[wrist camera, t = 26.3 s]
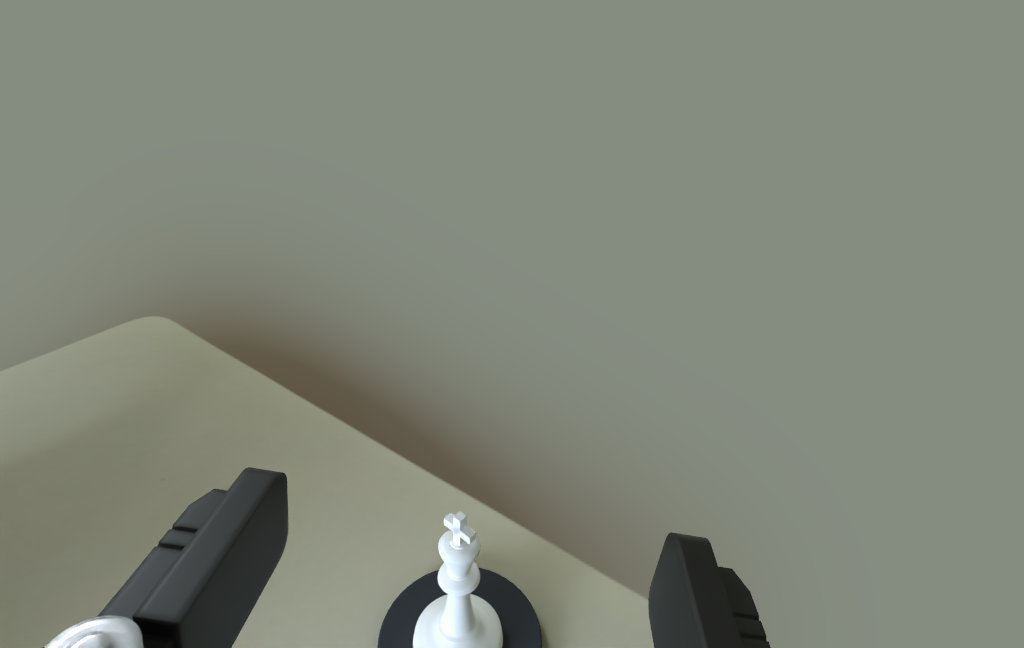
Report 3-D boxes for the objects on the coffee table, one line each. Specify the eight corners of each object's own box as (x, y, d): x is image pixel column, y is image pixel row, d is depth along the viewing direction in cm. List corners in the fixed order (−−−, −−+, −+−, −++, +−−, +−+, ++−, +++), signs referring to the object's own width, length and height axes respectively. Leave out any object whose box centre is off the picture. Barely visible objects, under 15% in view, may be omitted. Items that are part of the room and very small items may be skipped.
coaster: (569, 624, 34) (570, 618, 34) (477, 774, 27) (478, 769, 27) (448, 547, 38) (448, 541, 38) (342, 662, 31) (341, 656, 31)
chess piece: (458, 707, 29) (461, 583, 24) (394, 643, 32) (383, 518, 27) (520, 636, 33) (534, 513, 27) (457, 582, 35) (458, 461, 30)
